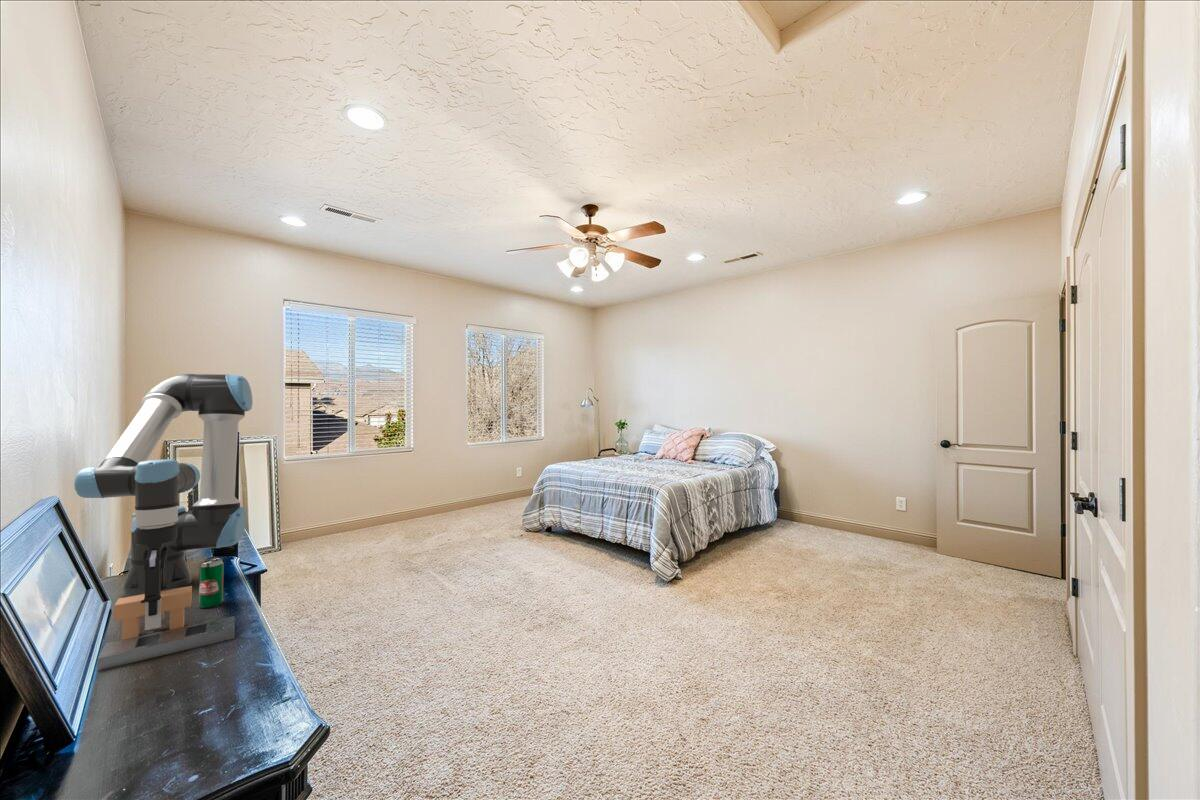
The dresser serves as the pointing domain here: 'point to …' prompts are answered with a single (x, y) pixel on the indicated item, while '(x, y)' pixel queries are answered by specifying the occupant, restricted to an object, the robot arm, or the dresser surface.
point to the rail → (165, 642)
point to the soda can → (211, 583)
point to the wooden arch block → (133, 609)
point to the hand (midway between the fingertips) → (154, 623)
